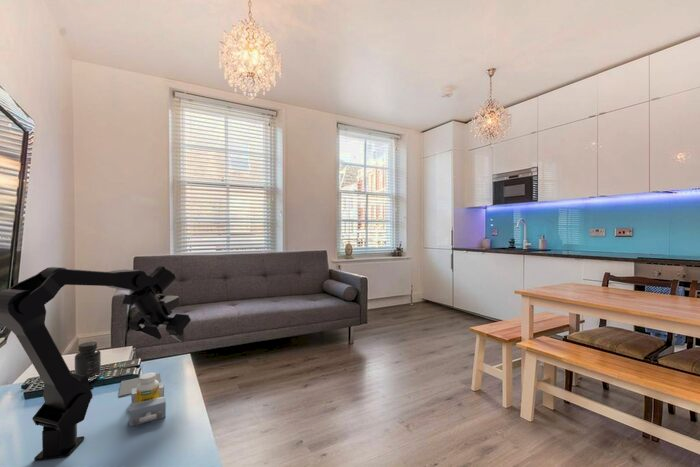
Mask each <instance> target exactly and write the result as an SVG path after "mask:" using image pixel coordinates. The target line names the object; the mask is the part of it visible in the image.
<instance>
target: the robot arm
mask: <svg viewBox="0 0 700 467" xmlns="http://www.w3.org/2000/svg"><path fill="white" fill-rule="evenodd" d="M176 279H177V276H176V275H175V273H173V272H172V271H170V270H169V269H167V268H166V267H165V266H163V265H160V266H159V265H158V266H157V267H156V268H155V270H154V271H152V272H151V273H150V274H149V275H147V273H146V271H145V270H142V269H141V270H140V269H116V270H111V271H98V270H97V271H96V270H86V269H83V270H82V269H72V268H71V269H70V268H66V267H57V266H56V267H55V266H51V267H46V268H44V269H43V270H41V271H39V272H38V273H37V274H35V275H33V276H30V277H28V278H26V279H25V280H24V279H23V280H22V281H20V282H18V283H16V284H13V285H12V286H11V287H10V288H7V289H2V290H0V325H2V326H3V327H5V328H6V329H7V330H9V331H11V332H12V333H13V334H14V335H15V336H16V338H17V339H18V341H19V343H20V344H21V347H22V348H23V350H24V352H25V353H26V355H27V358H28V359H29V360H30V362H31V364H32V365H33V367H34V369H35V371H36V372H37V373H38V375H39V377H40V379H41V381H42V382H43V385H44V388H43V393H42V396H43V399H44V403H42V405H41V406H40V408H39V409H38V410H37V411H36V413H35V414H34V415H33V416H32V417H31V418H32V421H33V423H34V425H35V426H40V427H42V432H41V435H42V436H41V437H42V438H41V440H42V441H41V442H42V445H41V446H42V448H41V449H42V450H41V451H40V452H38V453H37V455H36V456H34V458H33V460H34V461H43V460H49V459H50V460H51V459H57V458H58V459H59V458H66V457H68V456H70V455H71V454H72V452H73V451H74V450H75V449H77V447H78V446H79V445H80V444H81V443H82V442H83V441H84V440H85V436H78V424H80V423H82V422H83V421H84V420H85V419H86V418H85V417H86V415H87V412H88V409H89V405H90V403H91V402H92V399H93V395H94V394H93V392H92V390H94V389H95V388H94V387H93V386H91V385H90V382H89V381H88V378H87V376H84V375H79V374H75V373H74V372H71V370H70V369H69V367H68V364H67V363H66V360H64V357H63V354H62V353H61V352H60V350H59V348H58V346H57V345H56V342H55V341H54V339H53V337H52V335H51V332H50V331H49V330H48V327H47V326H46V323H45V322H46V316H47V308H46V306H45V305H47V304H48V303H49V302H50V301H51V300H53V299H54V298H55V296H57V294H58V293H59V291H60V290H61V288H63V287H64V286H68V285H69V286H92V287H93V286H96V287H97V286H100V287H107V288H111V289H115V290H120V291H131V292H130V293H128V294H124V298H123V300H122V302H121V304H122V305H125V306H127V305H130V306H134V307H135V309H136V311H138V312H136V314H135V315H134V316H133V317H132V318H131V319H130V320H129V322H128V327H129V329H131V331H135V332H138V333H141V334H143V335H146V336H148V337H150V338H154V339H155V340H159V341H160V340H161V339H162V334H161V332H160V330H159V329H158V327H159V326H161V325H162V326H163V325H164V326H165V331H166V332H167V333H168V335H169V336H170V337H172V338H174V339H175V340H177V341H178V342H181V343H184V342H185V341H186V337H185V328H186V327H187V326H188V325H189V323H190V322H191V321H192V319H191V317H190V315H189V314H185V313H175V315H174V316H173V317H170V316H171V315H172V314H173V310H174V309H177V308H180V306H181V301H180V297H179V295H164V292H166V291H167V290H168V289H169V287H171V286H172V285H173V283H175V282H176Z"/></svg>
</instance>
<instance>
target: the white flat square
mask: <svg viewBox="0 0 700 467" xmlns="http://www.w3.org/2000/svg"><path fill="white" fill-rule="evenodd" d="M156 380H157V381H158V382H159V383H161V382H162V381H161V380H162V379H161V373H156ZM138 384H140V382H139V377H136V378H131V379H126V380H121V382H120V386H119V392H118V398H121V397H126V396H131V393H132V389H133V388H137V386H138Z"/></svg>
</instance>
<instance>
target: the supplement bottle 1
mask: <svg viewBox="0 0 700 467" xmlns="http://www.w3.org/2000/svg"><path fill="white" fill-rule="evenodd" d="M97 343H98V342H96V341H88V342H83V343H80V344H78V350H77V351H78V353H76V354H75V355H74V374H79V375H84V376H87V378H89V377H93V376H95V375H98V374H99V373H100V372H101V373H102V370H101V369H102V368H101V367H102V366H101V365H102V364H101V362H102V360H101V359H102V355H101V354H102V353H101V351H100V350H99V349H98V344H97Z"/></svg>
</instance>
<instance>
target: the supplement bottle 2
mask: <svg viewBox="0 0 700 467" xmlns="http://www.w3.org/2000/svg"><path fill="white" fill-rule="evenodd" d="M156 374H157V373H156V372H146V373H143V374H141V375H140V376H139V377H138V378H139V382H140V384H138V386H137V389H136V390H137V403H139V402H143V401H147V400H151V399H155V398H159V382H158V381H157V380H156Z"/></svg>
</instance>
